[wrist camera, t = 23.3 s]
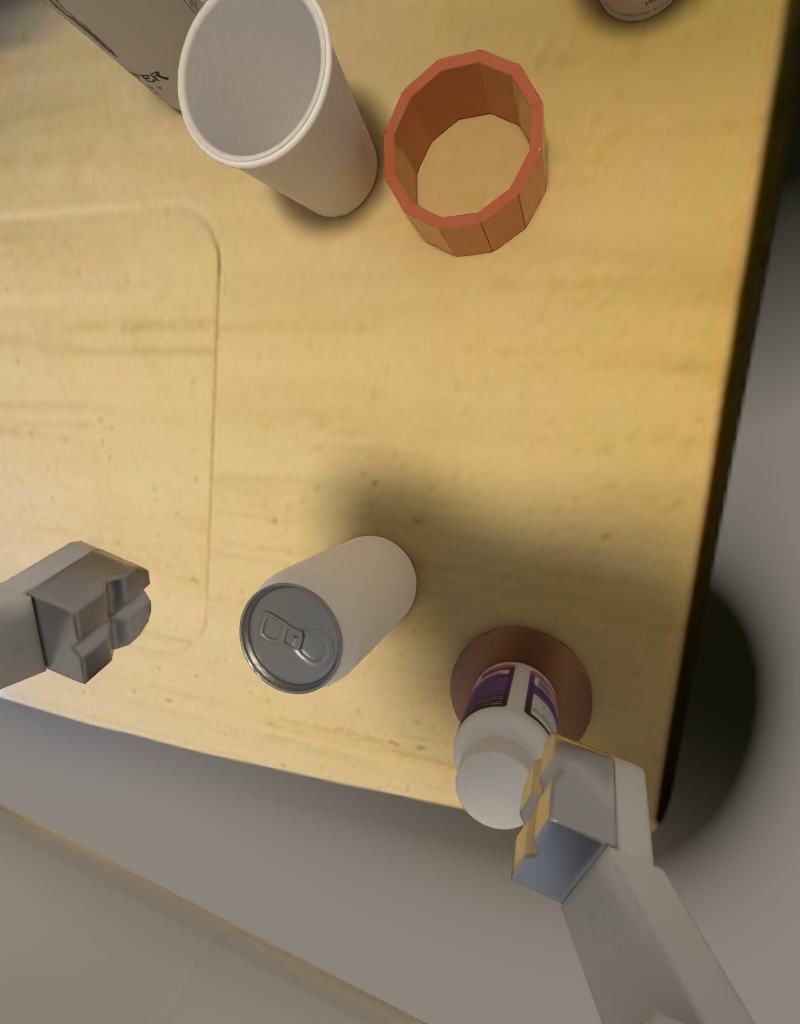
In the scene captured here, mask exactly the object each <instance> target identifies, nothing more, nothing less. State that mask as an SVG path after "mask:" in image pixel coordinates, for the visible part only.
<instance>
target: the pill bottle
mask: <svg viewBox="0 0 800 1024" xmlns="http://www.w3.org/2000/svg"><path fill="white" fill-rule="evenodd" d="M557 727H558V703H557V697H556V694H555V691H554V689H553V687H552V685H551V684H550V682H549V681H548V679H547V678H546V677H545V676H544V675H543V674H542V673H540V672H539V671H538V670H536V669H534V668H533V667H531V666H528V665H526V664H523V663H518V662H504V663H499V664H496V665H494V666H492V667H490V668H488V669H487V670H486V671H485V672H483V674H482V675H481V676H480V677H479V679H478V680H477V682H476V684H475V686H474V689H473V691H472V694H471V697H470V699H469V702H468V705H467V708H466V710H465V713H464V715H463V718H462V720H461V723H460V726H459V728H458V731H457V734H456V738H455V742H454V760H455V765H456V768H457V770H458V772H457V775H456V792H457V795H458V798H459V800H460V802H461V804H462V806H463V807H464V809H465V810H466V811H467V812H468V813H469V814H470V815H471V816H472V817H473V818H474V819H476V820H477V821H479V822H481V823H482V824H484V825H486V826H489V827H492V828H496V829H512V828H516V827H519V826H521V825H523V824H524V823H523V821H522V819H521V817H520V814H519V813H520V807H521V800H522V795H523V791H524V787H525V784H526V781H527V778H528V775H529V772H530V770H531V768H532V766H533V764H534V762H535V761H536V760H539V759H542V757H543V748H544V744H545V742H546V740H547V739H548V737H549V735H551V734H552V733H553V732H554V733H557Z"/></svg>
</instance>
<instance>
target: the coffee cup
mask: <svg viewBox="0 0 800 1024" xmlns="http://www.w3.org/2000/svg"><path fill="white" fill-rule="evenodd" d="M672 1H673V0H600V2H601V4H602V6H603V7H604V9H605V11H606V12H608V13H609V14H610V15H612V16H613V17H614V18H616V19H620V20H624V21H628V22H630V21H639V20H644V19H647V18H649V17H651V16H653V15H656V14H658V13H659V12H660V11H662V10H663V9H664V8H665V7H667V6H668V5H669V4H671V2H672Z"/></svg>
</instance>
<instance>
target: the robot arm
mask: <svg viewBox="0 0 800 1024" xmlns="http://www.w3.org/2000/svg"><path fill="white" fill-rule="evenodd" d="M149 584H150V581H149V572H148V570H146V569H144V568H143V567H141V566H138V565H136V564H134V563H132V562H129V561H127V560H125V559H122V558H120V557H118V556H116V555H113V554H111V553H109V552H106V551H104V550H102V549H99V548H96V547H94V546H92V545H89V544H87V543H85V542H82V541H77V542H71V543H69V544H67V545H66V546H64V547H62V548H61V549H59V550H57V551H55V552H54V553H52V554H50V555H49V556H47V557H45V558H44V559H42V560H40V561H39V562H37V563H35V564H34V565H32V566H30V567H28V568H27V569H25V570H23V571H22V572H20V573H18V574H17V575H15V576H13V577H12V578H10V579H8V580H7V581H5V582H3V583H0V689H2V688H4V687H7V686H9V685H12V684H14V683H17V682H19V681H22V680H24V679H27V678H29V677H32V676H34V675H37V674H39V673H42V672H44V671H46V668H47V669H49V670H52V671H54V672H56V673H59V674H61V675H64V676H66V677H68V678H71V679H73V680H76V681H78V682H80V683H83V684H86V683H87V682H88V681H89V680H90V679H91V678H92V677H94V676H95V675H96V674H97V673H98V672H99V671H100V670H101V669H103V668H104V667H105V666H106V665H107V664H108V663H109V662H110V661H112V657H113V651H114V649H117V648H120V647H124V646H127V645H129V644H131V643H132V642H133V641H134V640H135V639H136V638H137V637H138V636H139V635H140V634H141V632H142V631H143V629H144V628H145V626H146V624H147V623H148V621H149V617H150V613H151V601H150V599H149V598H148V596H147V594H146V593H145V591H144V589H145V588H146V587H147V586H148V585H149ZM519 814H520V817H521V819H522V821H523V823H524V826H523V828H522V830H521V831H520V833H519V835H518V837H517V838H516V844H515V852H514V860H513V868H512V876H511V879H512V880H514V881H516V882H518V883H520V884H523V885H524V886H527V887H529V888H530V889H533V890H535V891H537V892H539V893H541V894H543V895H545V896H547V897H549V898H551V899H553V900H555V901H557V902H559V903H561V904H562V905H561V909H562V911H563V914H564V917H565V920H566V923H567V926H568V929H569V931H570V934H571V937H572V940H573V943H574V946H575V948H576V951H577V954H578V957H579V960H580V963H581V965H582V968H583V971H584V974H585V977H586V980H587V983H588V986H589V988H590V991H591V994H592V997H593V1000H594V1003H595V1005H596V1008H597V1011H598V1014H599V1017H600V1020H601V1022H602V1024H755V1022H754V1021H753V1019H752V1017H751V1016H750V1014H749V1012H748V1010H747V1009H746V1007H745V1005H744V1004H743V1002H742V1000H741V999H740V997H739V995H738V994H737V992H736V990H735V989H734V987H733V985H732V984H731V982H730V980H729V979H728V977H727V975H726V974H725V972H724V970H723V969H722V967H721V965H720V964H719V962H718V960H717V959H716V957H715V955H714V954H713V952H712V950H711V949H710V947H709V945H708V943H707V942H706V940H705V939H704V937H703V935H702V933H701V932H700V930H699V928H698V927H697V925H696V924H695V922H694V920H693V918H692V917H691V915H690V913H689V912H688V910H687V908H686V907H685V905H684V903H683V902H682V900H681V898H680V897H679V895H678V893H677V892H676V890H675V888H674V887H673V885H672V883H671V882H670V880H669V878H668V876H667V875H666V873H665V871H664V870H663V869H661V868H659V867H657V866H654V862H653V852H652V842H651V830H650V820H649V809H648V798H647V788H646V777H645V772H644V771H643V769H642V767H640V766H638V765H635V764H632V763H630V762H627V761H625V760H622V759H620V758H617V757H615V756H612V755H611V756H610V755H609V754H608V753H605V752H603V751H600V750H598V749H595V748H593V747H590V746H587V745H585V744H582V743H580V742H577V741H575V740H572V739H569V738H567V737H564V736H562V735H559V734H557V733H554V732H553V733H552V734H551V735H549V737H548V739H547V740H546V742H545V744H544V748H543V757H542V759H539V760H536V761H535V762H534V764H533V766H532V768H531V770H530V772H529V775H528V778H527V781H526V784H525V787H524V791H523V795H522V800H521V807H520V813H519ZM0 1024H426V1023H424V1022H422V1021H420V1020H419V1019H417V1018H415V1017H413V1016H410V1015H409V1014H407V1013H405V1012H403V1011H401V1010H399V1009H397V1008H395V1007H393V1006H391V1005H390V1004H388V1003H386V1002H384V1001H382V1000H380V999H378V998H376V997H374V996H372V995H370V994H368V993H366V992H364V991H363V990H361V989H359V988H357V987H355V986H353V985H351V984H349V983H347V982H345V981H343V980H341V979H339V978H337V977H336V976H334V975H332V974H330V973H328V972H326V971H324V970H322V969H320V968H318V967H316V966H314V965H312V964H310V963H308V962H307V961H305V960H303V959H301V958H299V957H297V956H295V955H293V954H291V953H289V952H287V951H285V950H284V949H282V948H280V947H278V946H276V945H274V944H272V943H270V942H268V941H266V940H264V939H262V938H260V937H258V936H256V935H255V934H253V933H251V932H249V931H247V930H245V929H243V928H241V927H239V926H237V925H235V924H233V923H231V922H229V921H228V920H226V919H224V918H222V917H220V916H218V915H216V914H214V913H212V912H210V911H208V910H206V909H204V908H202V907H200V906H198V905H196V904H195V903H193V902H191V901H189V900H187V899H185V898H183V897H181V896H179V895H177V894H175V893H174V892H172V891H170V890H168V889H166V888H164V887H162V886H160V885H158V884H156V883H154V882H152V881H150V880H148V879H146V878H145V877H143V876H141V875H139V874H137V873H135V872H133V871H131V870H129V869H127V868H125V867H123V866H121V865H119V864H118V863H116V862H114V861H112V860H110V859H108V858H106V857H104V856H102V855H100V854H98V853H96V852H94V851H92V850H90V849H89V848H87V847H85V846H83V845H81V844H79V843H77V842H75V841H73V840H71V839H69V838H67V837H65V836H64V835H61V834H60V833H58V832H55V831H54V830H52V829H50V828H48V827H46V826H44V825H42V824H40V823H38V822H36V821H35V820H33V819H31V818H29V817H27V816H25V815H23V814H21V813H19V812H17V811H15V810H13V809H11V808H9V807H7V806H5V805H4V804H2V803H0Z"/></svg>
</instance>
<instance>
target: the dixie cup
mask: <svg viewBox="0 0 800 1024" xmlns="http://www.w3.org/2000/svg"><path fill="white" fill-rule="evenodd" d="M178 96H179V103H180V108H181V112H182V116H183V119H184V121H185V124H186V126H187V129H188V131H189V132H190V134H191V136H192V138H193V139H194V141H195V142H196V143H197V145H198V146H199V147H200V148H201V149H202V150H203V151H204V152H205V153H206V154H207V155H208V156H210V157H211V158H212V159H214V160H216V161H217V162H219V163H221V164H224V165H226V166H229V167H234V168H239V169H240V170H242V171H244V172H245V173H247V174H249V175H251V176H252V177H254V178H256V179H258V180H259V181H261V182H263V183H265V184H266V185H268V186H270V187H272V188H273V189H275V190H277V191H279V192H280V193H282V194H284V195H286V196H287V197H289V198H291V199H293V200H294V201H296V202H298V203H300V204H301V205H303V206H305V207H307V208H308V209H310V210H312V211H314V212H315V213H317V214H319V215H322V216H326V217H338V216H342V215H345V214H348V213H350V212H351V211H353V210H354V209H356V208H357V207H358V206H359V205H360V204H361V203H362V202H363V201H364V200H365V198H366V197H367V196H368V195H369V193H370V191H371V189H372V187H373V184H374V182H375V178H376V173H377V156H376V151H375V148H374V145H373V143H372V141H371V138H370V136H369V133H368V131H367V129H366V126H365V124H364V121H363V119H362V116H361V114H360V112H359V109H358V107H357V104H356V102H355V100H354V97H353V95H352V92H351V90H350V88H349V85H348V83H347V80H346V78H345V75H344V73H343V71H342V68H341V66H340V63H339V61H338V59H337V56H336V54H335V51H334V49H333V47H332V43H331V36H330V31H329V27H328V24H327V21H326V18H325V16H324V13H323V11H322V9H321V7H320V6H319V4H318V2H317V1H316V0H208V1H207V2H206V3H205V5H204V6H203V7H202V8H201V10H200V11H199V13H198V14H197V16H196V18H195V19H194V21H193V23H192V25H191V27H190V29H189V31H188V34H187V36H186V39H185V42H184V45H183V49H182V53H181V57H180V62H179V70H178Z"/></svg>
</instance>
